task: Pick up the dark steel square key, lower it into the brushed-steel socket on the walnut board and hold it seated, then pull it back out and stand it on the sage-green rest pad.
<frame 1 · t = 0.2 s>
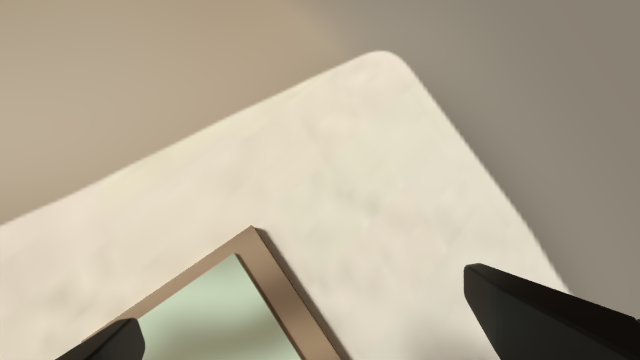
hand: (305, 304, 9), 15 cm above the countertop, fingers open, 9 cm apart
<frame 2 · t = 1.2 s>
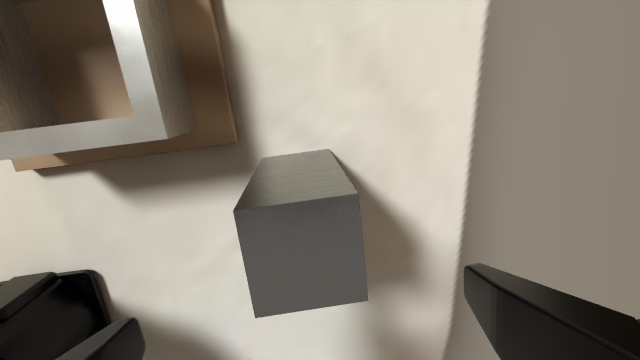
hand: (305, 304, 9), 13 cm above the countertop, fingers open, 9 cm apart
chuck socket: (110, 62, 18), resting on stand board
steel key: (300, 185, 21), on the countertop
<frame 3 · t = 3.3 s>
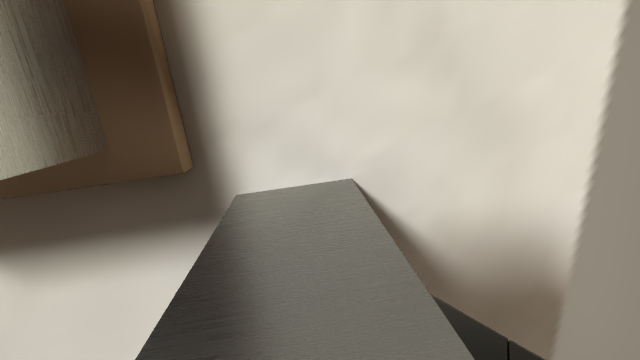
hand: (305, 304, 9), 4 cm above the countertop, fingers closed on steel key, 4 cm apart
steel key: (302, 239, 12), on the countertop, touching gripper
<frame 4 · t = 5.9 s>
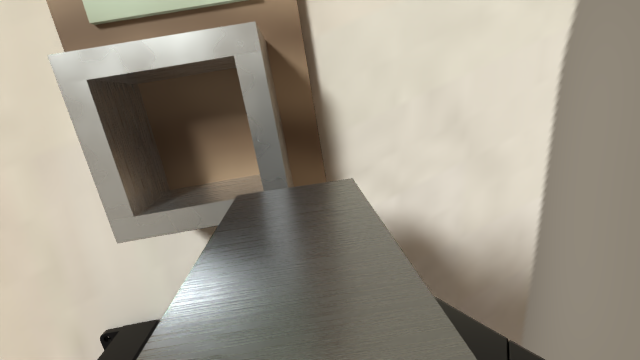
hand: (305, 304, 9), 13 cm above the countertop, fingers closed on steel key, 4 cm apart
stand board: (188, 34, 18), on the countertop
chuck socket: (212, 128, 20), resting on stand board
steel key: (303, 239, 12), point 9 cm above the countertop, touching gripper
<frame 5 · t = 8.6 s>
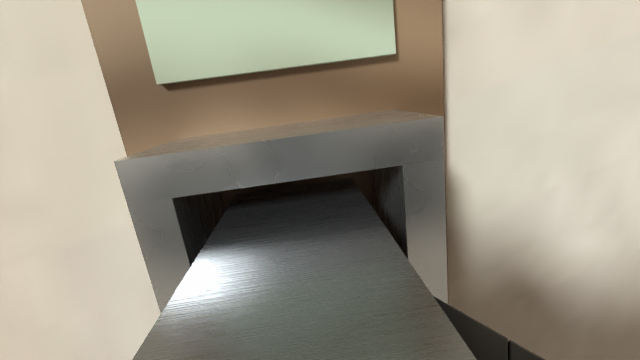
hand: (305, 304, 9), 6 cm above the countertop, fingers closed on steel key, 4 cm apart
stand board: (283, 96, 13), on the countertop
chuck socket: (302, 215, 15), resting on stand board
steel key: (302, 238, 12), point 2 cm above the countertop, touching gripper
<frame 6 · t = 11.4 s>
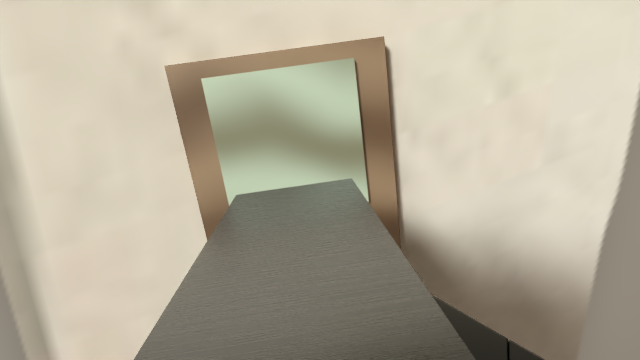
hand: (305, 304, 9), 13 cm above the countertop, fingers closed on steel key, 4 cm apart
stand board: (303, 218, 22), on the countertop
steel key: (302, 239, 12), point 9 cm above the countertop, touching gripper
when the fingers open (6 cm above the countertop, at t = 14.0 s): steel key drops 1 cm, resting on stand board.
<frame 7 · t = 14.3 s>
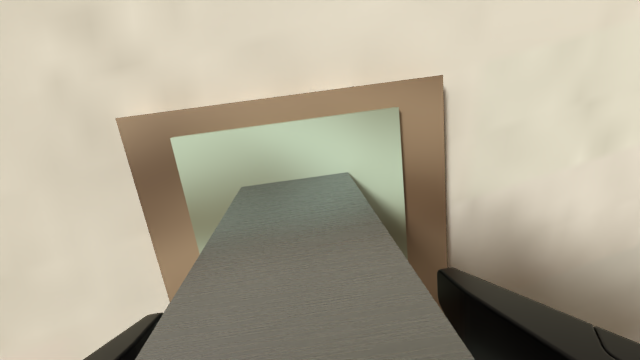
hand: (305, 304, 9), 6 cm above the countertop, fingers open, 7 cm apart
stand board: (316, 314, 16), on the countertop
steel key: (302, 228, 13), point 1 cm above the countertop, touching stand board
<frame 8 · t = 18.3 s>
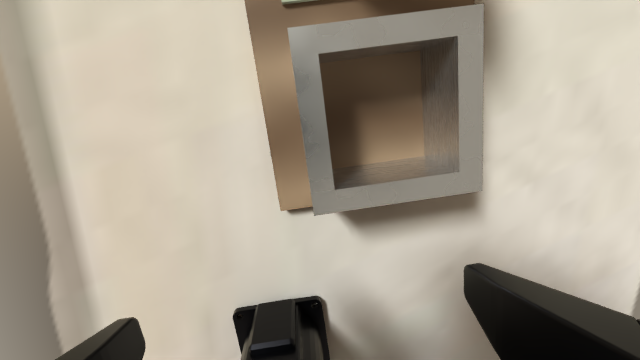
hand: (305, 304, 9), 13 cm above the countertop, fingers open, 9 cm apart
stand board: (359, 18, 19), on the countertop
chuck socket: (367, 111, 20), resting on stand board
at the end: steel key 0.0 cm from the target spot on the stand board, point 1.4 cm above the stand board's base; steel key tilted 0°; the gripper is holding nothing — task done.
